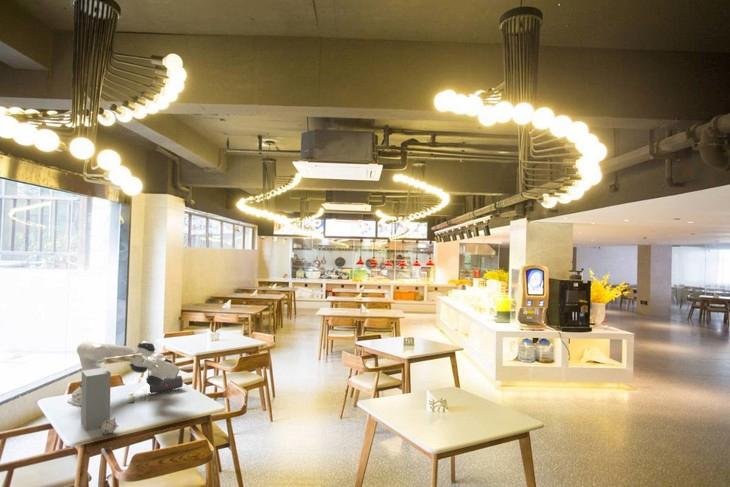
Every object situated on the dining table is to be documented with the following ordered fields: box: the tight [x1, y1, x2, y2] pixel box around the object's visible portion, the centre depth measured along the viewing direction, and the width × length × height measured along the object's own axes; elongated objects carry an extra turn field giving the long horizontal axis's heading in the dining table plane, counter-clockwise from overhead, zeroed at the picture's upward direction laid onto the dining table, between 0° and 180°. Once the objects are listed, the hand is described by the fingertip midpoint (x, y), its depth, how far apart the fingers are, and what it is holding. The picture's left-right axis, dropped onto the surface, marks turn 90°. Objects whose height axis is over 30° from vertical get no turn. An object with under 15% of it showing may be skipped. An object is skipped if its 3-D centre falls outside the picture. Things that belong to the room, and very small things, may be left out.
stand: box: [80, 367, 112, 431], centre depth 263 cm, size 12×16×30 cm
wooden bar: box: [103, 353, 142, 365], centre depth 272 cm, size 20×3×3 cm, turn 130°
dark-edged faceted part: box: [99, 418, 119, 436], centre depth 248 cm, size 9×8×10 cm
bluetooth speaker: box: [150, 375, 184, 394], centre depth 323 cm, size 23×9×10 cm, turn 131°
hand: (133, 356), depth 276 cm, fingers closed on wooden bar, 3 cm apart
